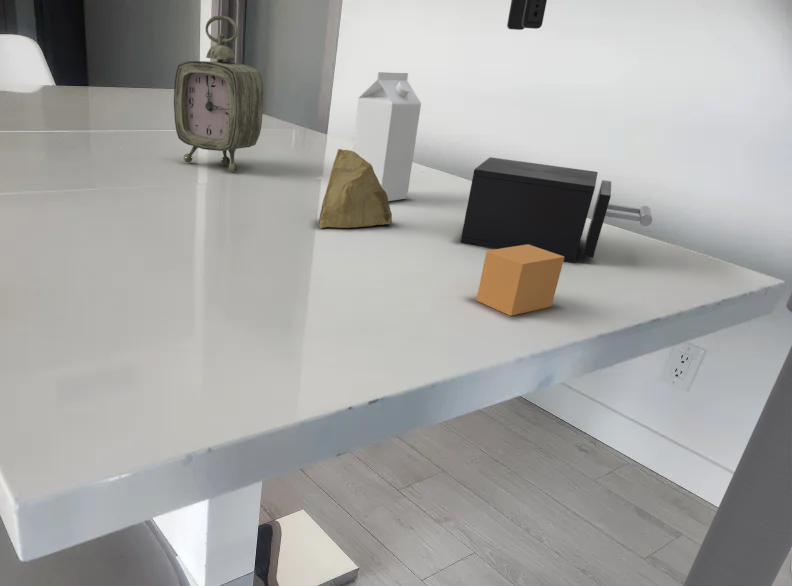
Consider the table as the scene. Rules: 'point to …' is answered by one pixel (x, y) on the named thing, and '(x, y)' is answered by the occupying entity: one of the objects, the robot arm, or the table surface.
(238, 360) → the table surface
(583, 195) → the black drawer cabinet
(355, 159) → the rock
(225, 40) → the tabletop clock
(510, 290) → the cardboard box
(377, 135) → the milk carton
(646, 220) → the drawer
